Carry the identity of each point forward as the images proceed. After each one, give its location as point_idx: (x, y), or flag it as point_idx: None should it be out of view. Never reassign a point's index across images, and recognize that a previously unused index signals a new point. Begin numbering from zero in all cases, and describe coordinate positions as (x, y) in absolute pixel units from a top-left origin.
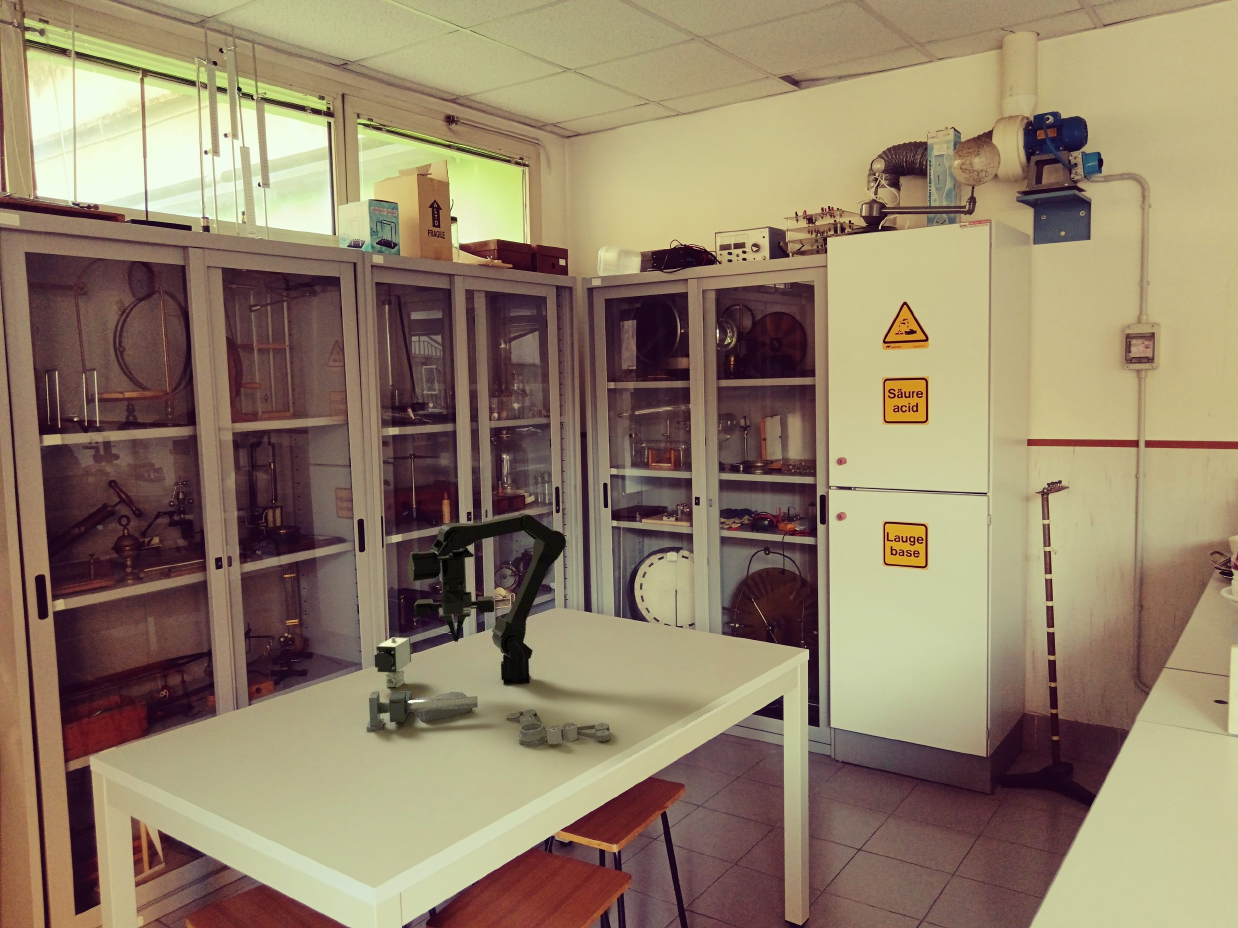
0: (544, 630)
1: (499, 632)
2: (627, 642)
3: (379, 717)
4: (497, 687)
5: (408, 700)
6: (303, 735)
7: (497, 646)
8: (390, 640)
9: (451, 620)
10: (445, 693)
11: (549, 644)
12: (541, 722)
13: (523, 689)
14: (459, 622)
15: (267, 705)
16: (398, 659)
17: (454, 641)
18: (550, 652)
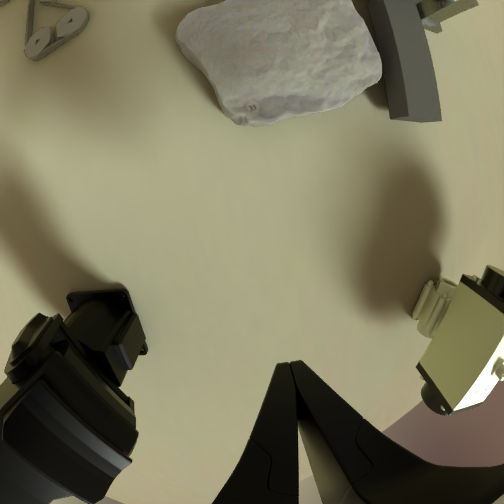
0: (172, 499)
1: (59, 418)
2: None
3: (423, 4)
4: (139, 270)
5: (392, 36)
6: (499, 32)
7: (112, 393)
8: (495, 379)
9: (379, 494)
10: (288, 111)
11: (138, 470)
12: (29, 4)
13: (68, 246)
14: (269, 493)
15: None
16: (473, 311)
17: (301, 360)
18: None
